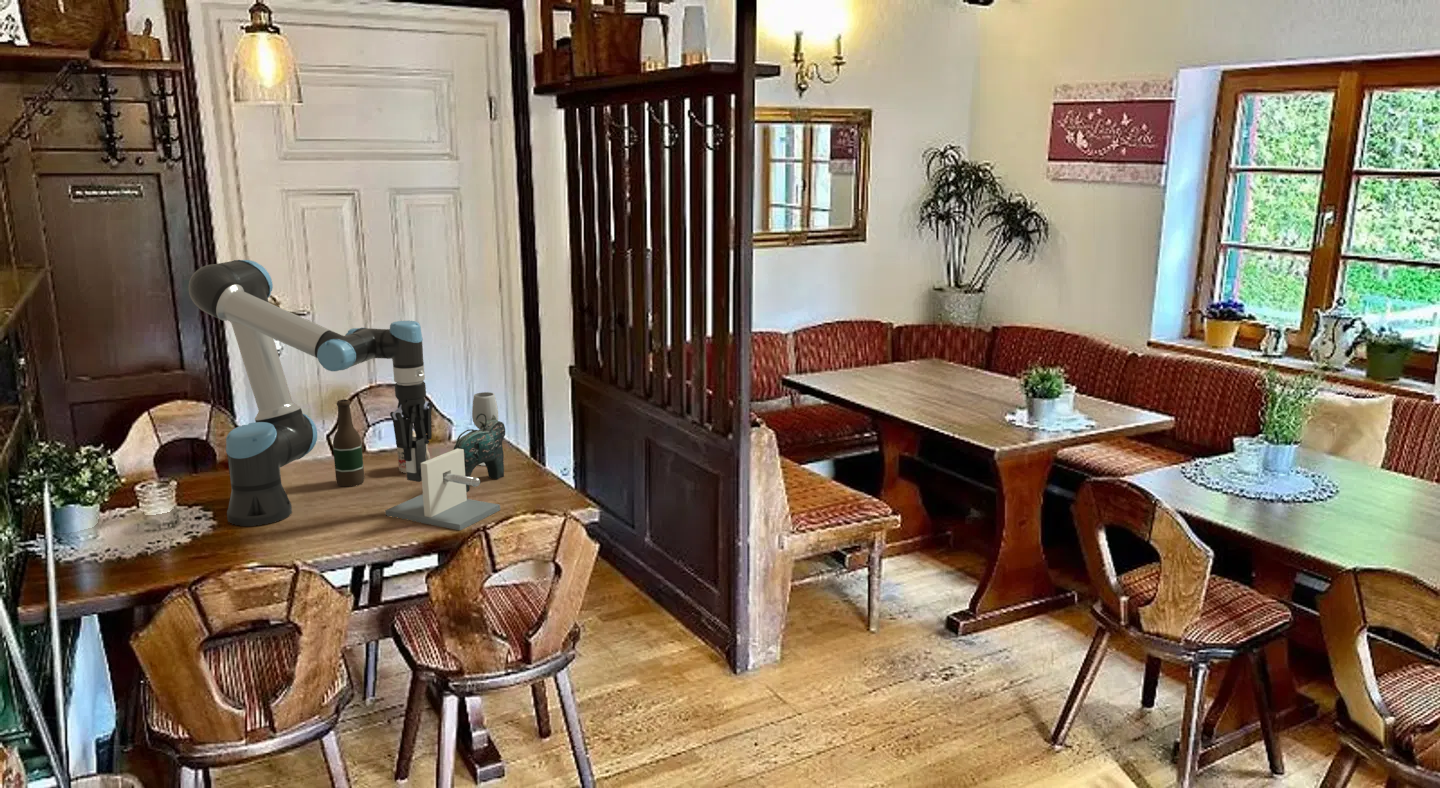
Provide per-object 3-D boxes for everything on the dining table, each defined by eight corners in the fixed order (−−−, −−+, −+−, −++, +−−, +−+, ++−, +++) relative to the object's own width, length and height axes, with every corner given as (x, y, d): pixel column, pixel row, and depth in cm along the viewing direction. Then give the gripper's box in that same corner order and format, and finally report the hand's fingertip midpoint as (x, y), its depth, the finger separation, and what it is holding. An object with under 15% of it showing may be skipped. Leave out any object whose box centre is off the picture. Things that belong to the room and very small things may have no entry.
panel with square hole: (460, 530, 250) (456, 470, 246) (385, 515, 260) (380, 458, 256) (500, 510, 264) (497, 453, 260) (428, 497, 274) (424, 442, 270)
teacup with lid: (391, 470, 297) (388, 432, 294) (417, 462, 304) (414, 425, 301) (416, 478, 289) (413, 439, 287) (442, 470, 296) (440, 432, 294)
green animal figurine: (496, 472, 294) (492, 406, 290) (513, 476, 291) (509, 408, 287) (447, 492, 277) (443, 422, 273) (465, 496, 274) (461, 425, 270)
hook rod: (475, 491, 253) (473, 449, 251) (407, 479, 263) (404, 439, 260) (483, 488, 256) (480, 446, 253) (415, 476, 265) (412, 436, 263)
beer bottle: (356, 488, 281) (349, 404, 275) (330, 486, 282) (322, 403, 277) (370, 479, 288) (363, 397, 283) (345, 477, 290) (337, 396, 284)
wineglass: (493, 457, 309) (489, 390, 304) (505, 462, 303) (501, 394, 298) (470, 461, 304) (466, 394, 299) (482, 467, 299) (478, 398, 294)
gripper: (398, 390, 248) (405, 481, 254) (442, 377, 262) (448, 463, 268) (375, 387, 251) (383, 477, 257) (420, 374, 266) (426, 459, 271)
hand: (416, 470), depth 262 cm, fingers closed on hook rod, 3 cm apart
